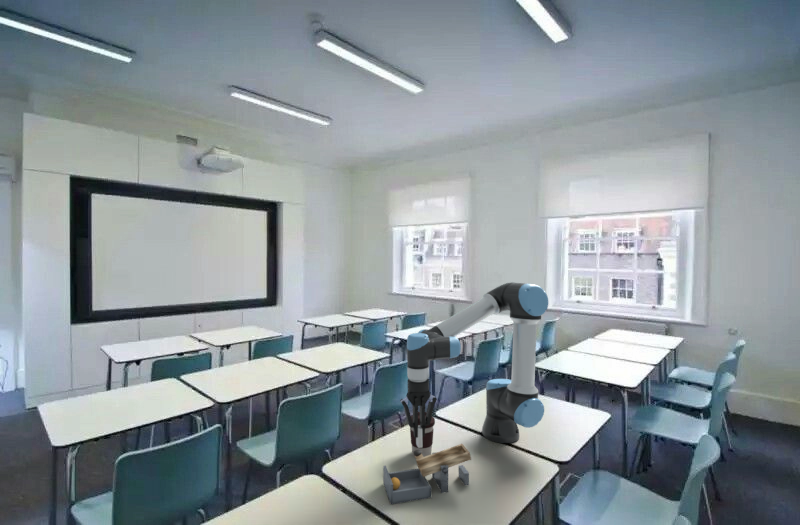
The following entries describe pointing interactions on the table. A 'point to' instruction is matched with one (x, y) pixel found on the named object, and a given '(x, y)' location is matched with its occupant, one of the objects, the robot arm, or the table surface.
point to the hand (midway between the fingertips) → (419, 445)
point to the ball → (395, 483)
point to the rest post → (463, 475)
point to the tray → (406, 486)
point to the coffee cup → (426, 439)
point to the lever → (441, 459)
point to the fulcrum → (441, 478)
